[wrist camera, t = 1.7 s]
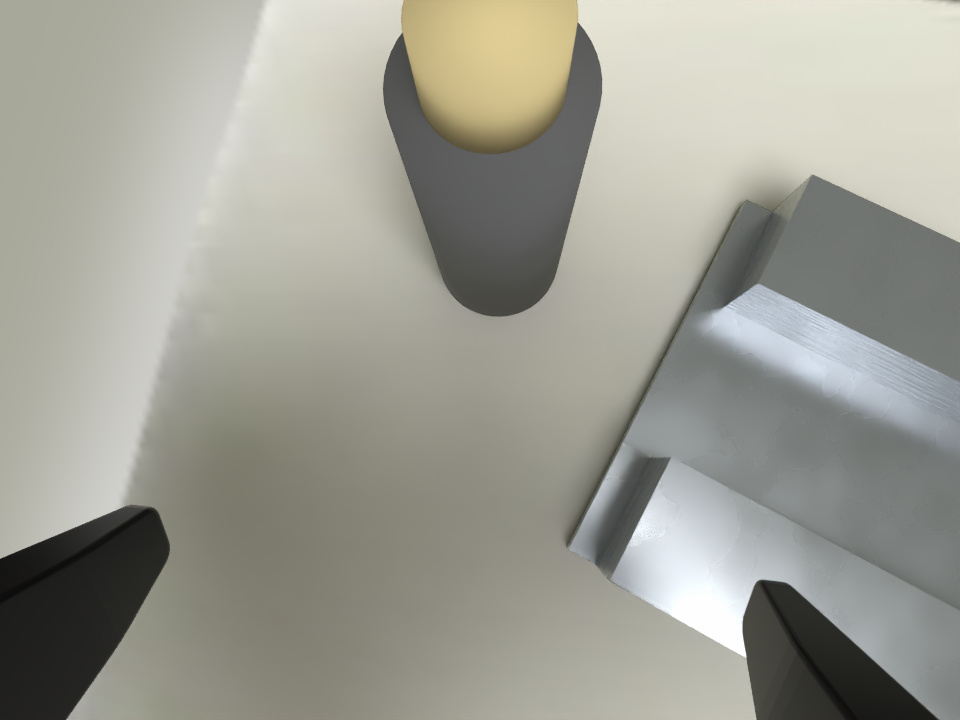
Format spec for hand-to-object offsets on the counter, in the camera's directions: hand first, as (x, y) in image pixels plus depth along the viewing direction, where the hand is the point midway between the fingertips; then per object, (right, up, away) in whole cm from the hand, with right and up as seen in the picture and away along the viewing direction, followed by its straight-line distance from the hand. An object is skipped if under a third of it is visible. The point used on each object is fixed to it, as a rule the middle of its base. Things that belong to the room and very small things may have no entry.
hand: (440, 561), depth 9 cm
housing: (+13, -1, +12) cm, 18 cm away
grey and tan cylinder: (+1, +7, +14) cm, 16 cm away
